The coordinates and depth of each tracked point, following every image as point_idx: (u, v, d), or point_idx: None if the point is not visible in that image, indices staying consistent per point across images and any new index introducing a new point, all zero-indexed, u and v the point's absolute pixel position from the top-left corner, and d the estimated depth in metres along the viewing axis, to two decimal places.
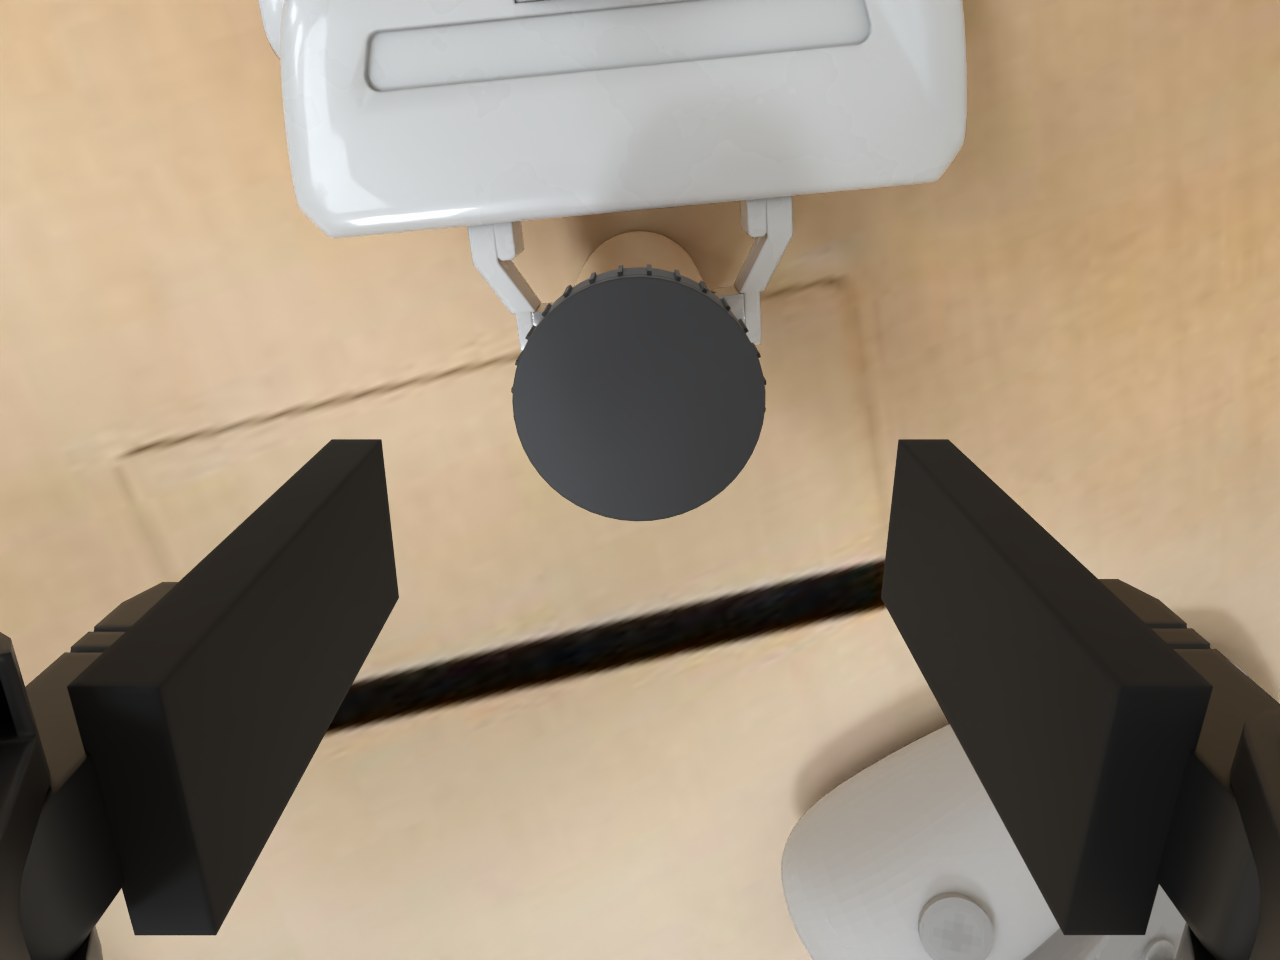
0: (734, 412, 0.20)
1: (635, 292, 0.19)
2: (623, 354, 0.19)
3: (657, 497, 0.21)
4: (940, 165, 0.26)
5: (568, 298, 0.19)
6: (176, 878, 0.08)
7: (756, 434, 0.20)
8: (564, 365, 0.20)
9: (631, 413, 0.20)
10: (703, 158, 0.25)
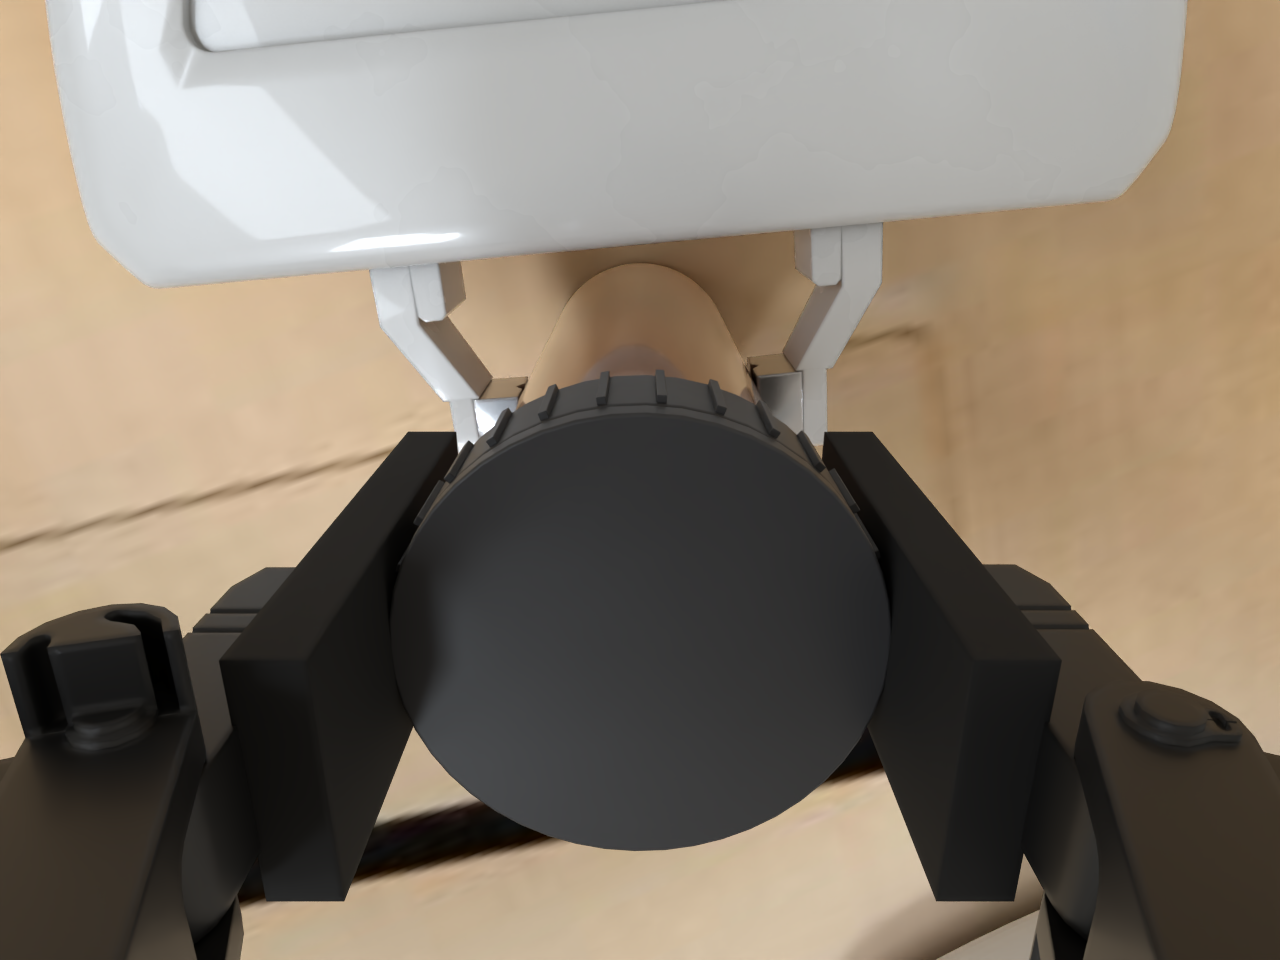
0: (830, 668, 0.10)
1: (633, 444, 0.09)
2: (608, 562, 0.10)
3: (675, 812, 0.11)
4: (1130, 173, 0.16)
5: (494, 455, 0.09)
6: (310, 846, 0.08)
7: (871, 706, 0.10)
8: (489, 583, 0.10)
9: (625, 669, 0.10)
10: (744, 163, 0.16)
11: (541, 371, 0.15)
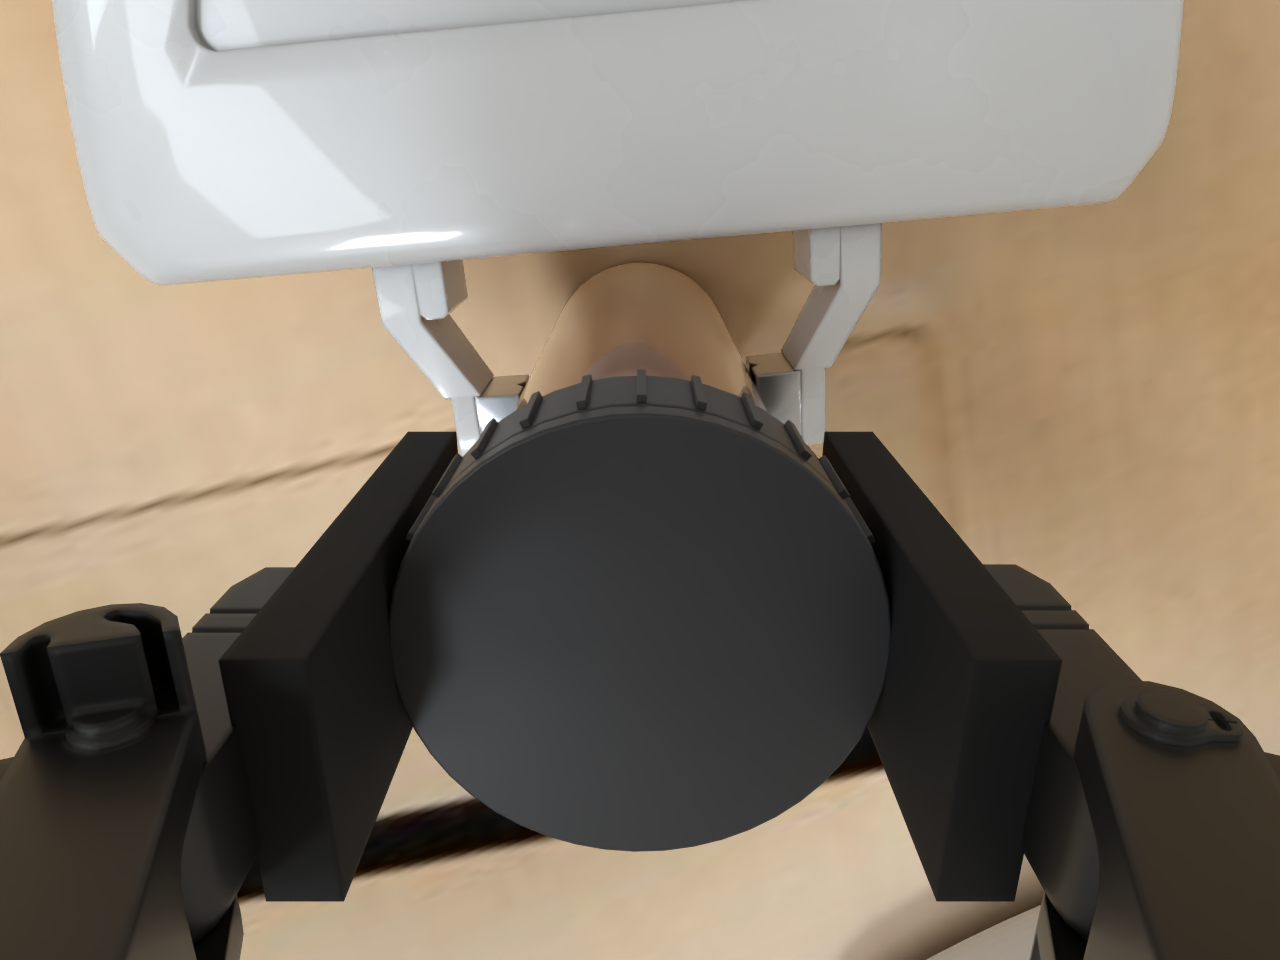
0: (551, 494, 0.09)
1: (459, 752, 0.10)
2: (567, 721, 0.10)
3: (799, 536, 0.09)
4: (1126, 176, 0.16)
5: (534, 830, 0.11)
6: (310, 846, 0.08)
7: (566, 431, 0.09)
8: (641, 791, 0.11)
9: (661, 660, 0.10)
10: (745, 163, 0.16)
11: (542, 369, 0.15)
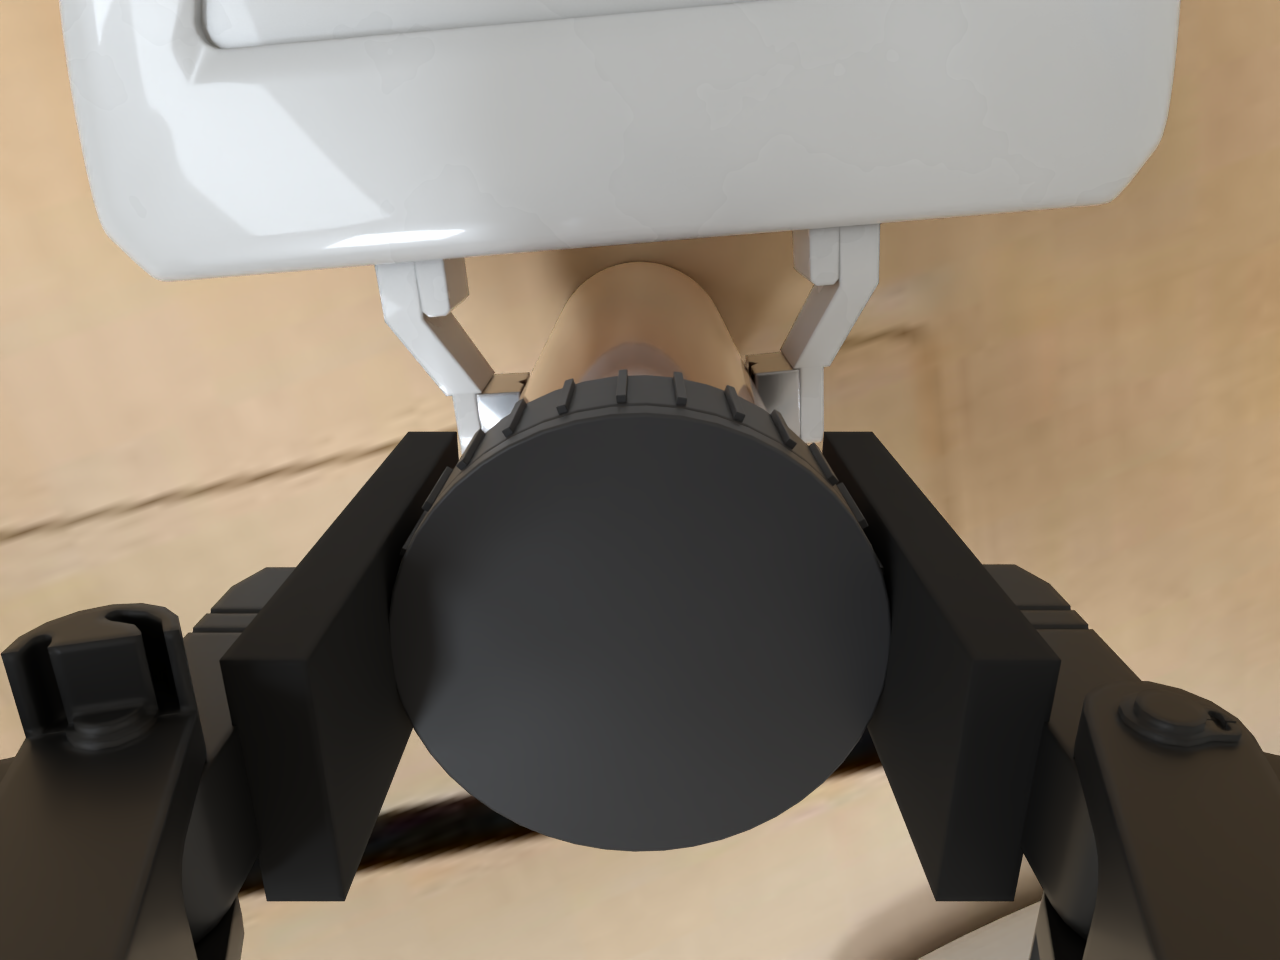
0: (537, 784, 0.11)
1: (827, 743, 0.10)
2: (743, 678, 0.10)
3: (445, 597, 0.10)
4: (1122, 178, 0.16)
5: None
6: (310, 846, 0.08)
7: (480, 796, 0.11)
8: (788, 580, 0.10)
9: (633, 638, 0.10)
10: (745, 163, 0.16)
11: (543, 366, 0.15)
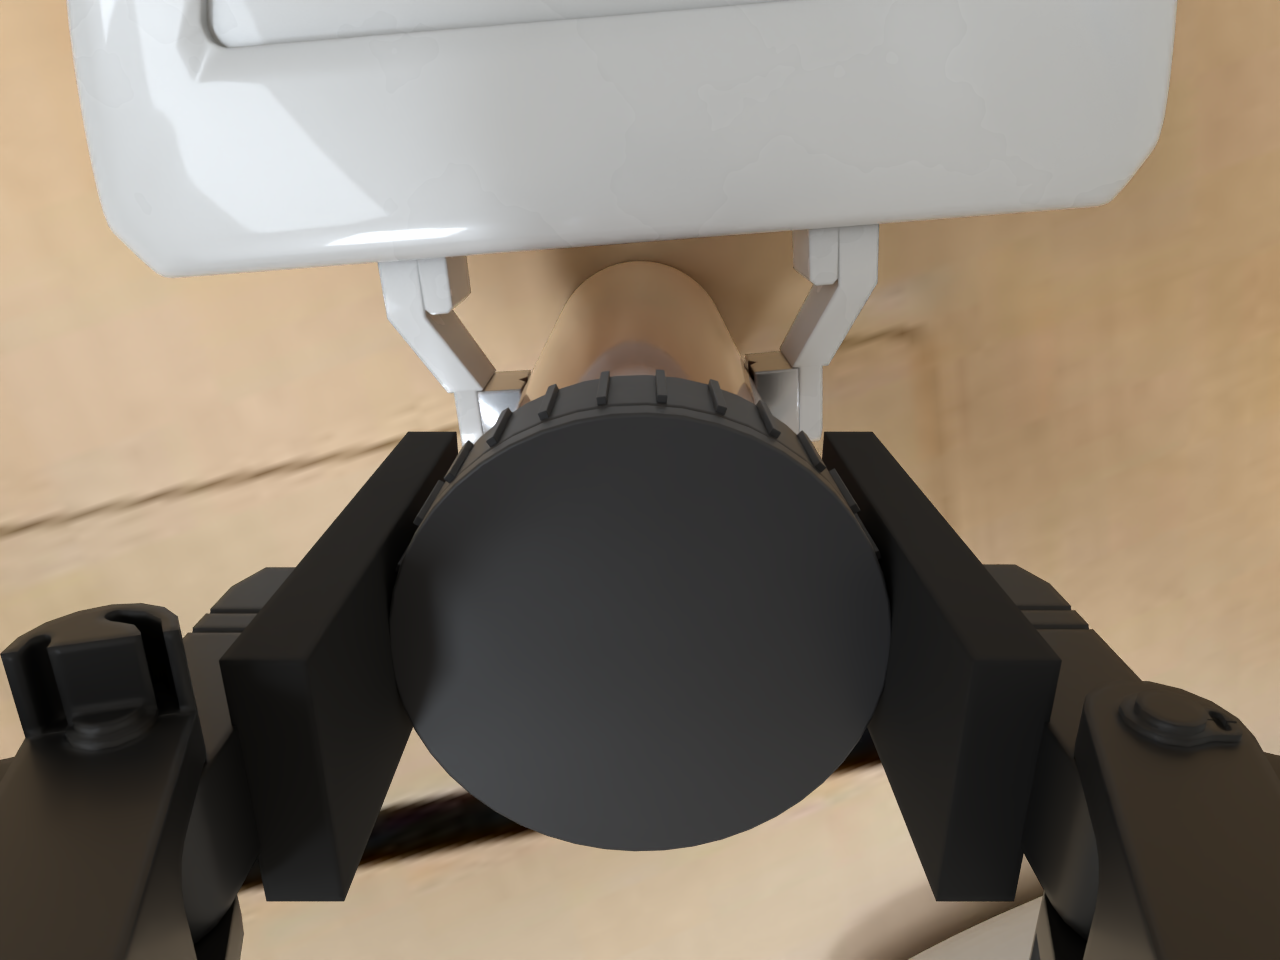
0: (830, 668, 0.10)
1: (633, 444, 0.09)
2: (609, 562, 0.10)
3: (675, 812, 0.11)
4: (1119, 180, 0.16)
5: (494, 455, 0.09)
6: (310, 846, 0.08)
7: (871, 706, 0.10)
8: (489, 583, 0.10)
9: (625, 669, 0.10)
10: (745, 163, 0.16)
11: (545, 363, 0.16)
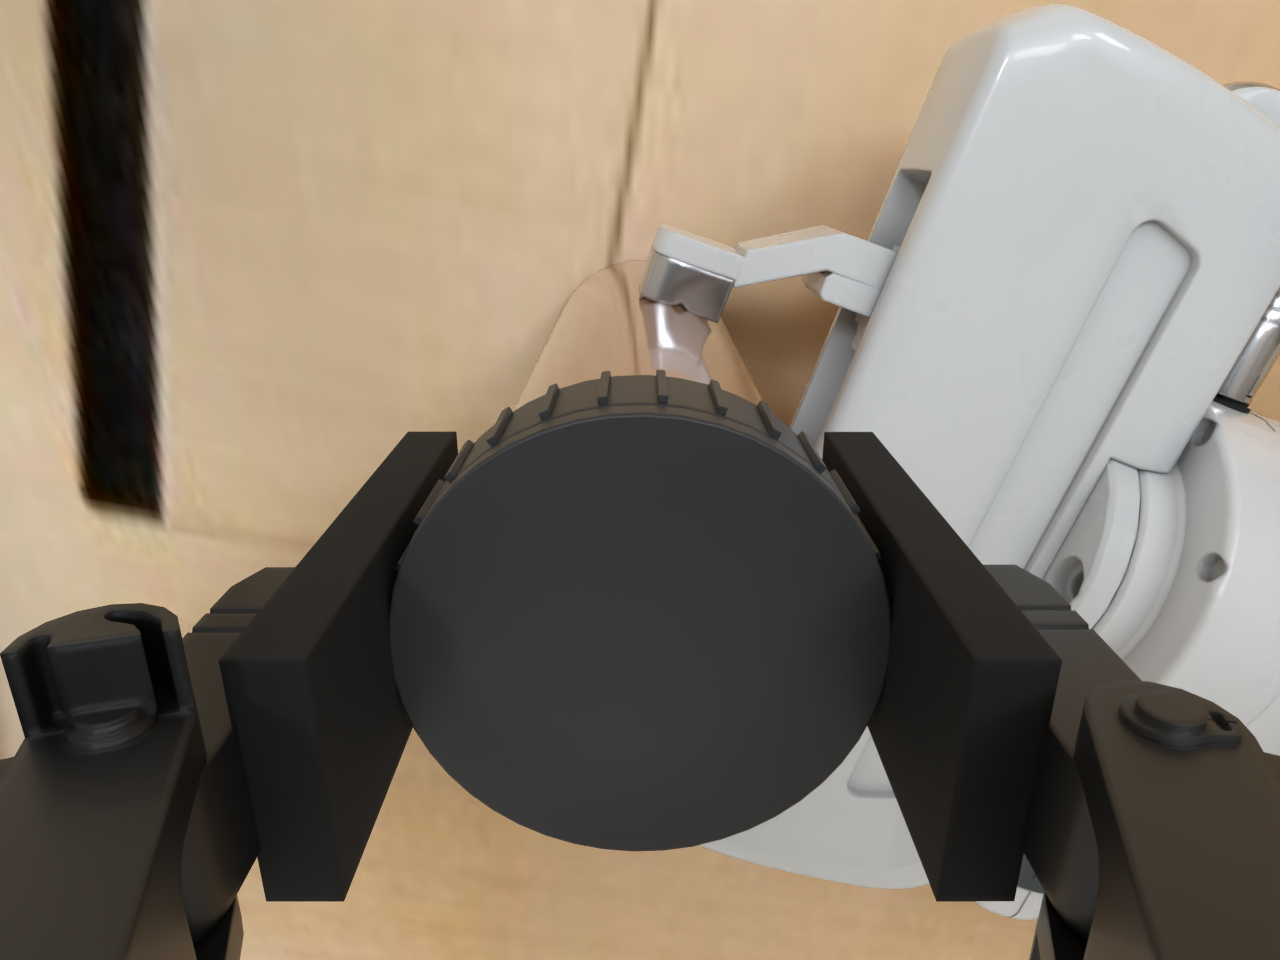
0: (830, 668, 0.10)
1: (634, 444, 0.09)
2: (609, 562, 0.10)
3: (674, 813, 0.11)
4: None
5: (494, 455, 0.09)
6: (309, 846, 0.08)
7: (870, 706, 0.10)
8: (489, 582, 0.10)
9: (625, 669, 0.10)
10: None
11: None
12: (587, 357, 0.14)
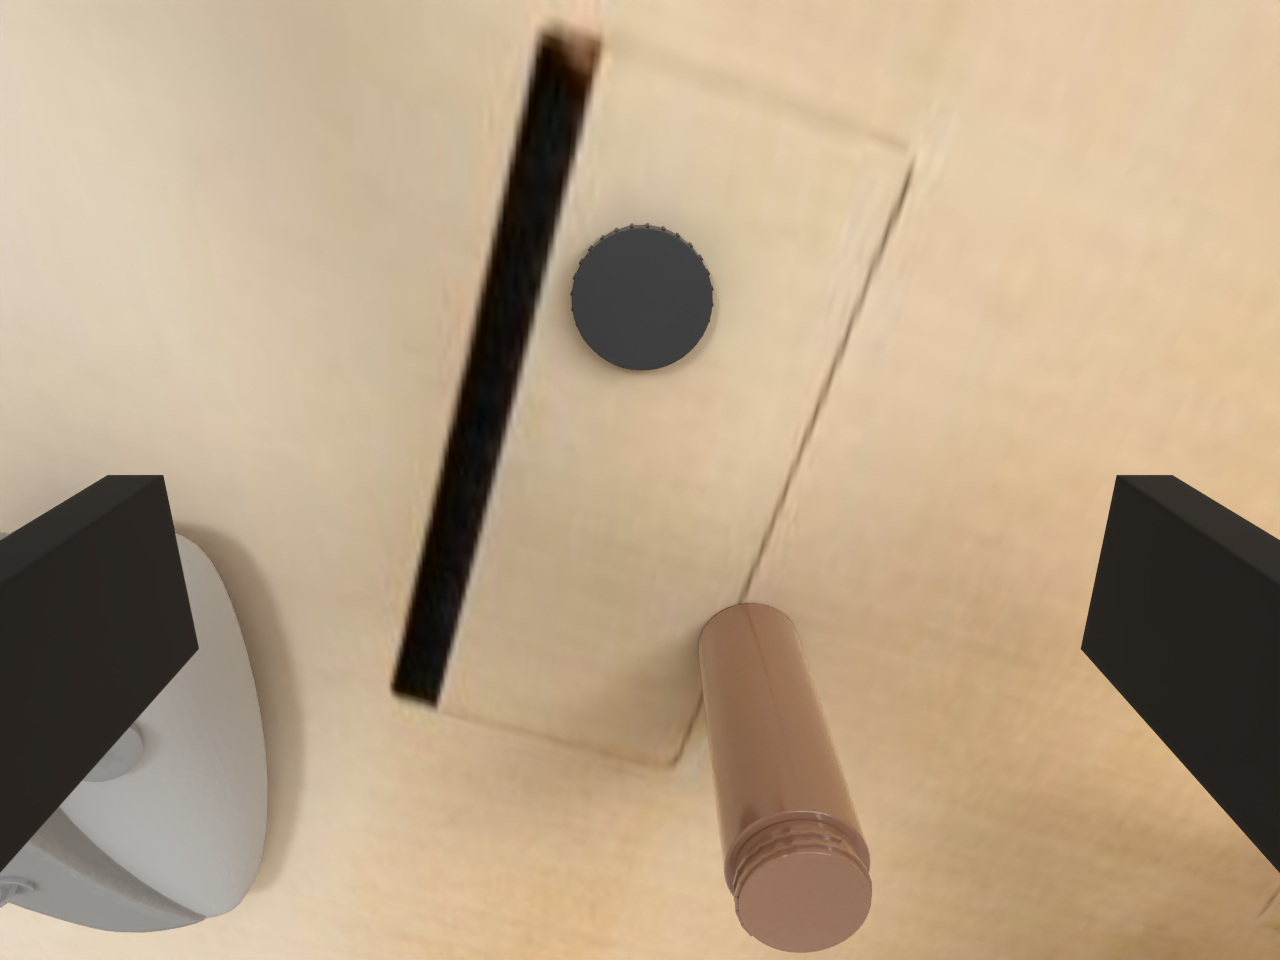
0: (695, 305, 0.36)
1: (640, 237, 0.35)
2: (633, 271, 0.35)
3: (652, 355, 0.36)
4: None
5: (603, 240, 0.35)
6: None
7: (707, 318, 0.36)
8: (601, 278, 0.35)
9: (638, 305, 0.36)
10: None
11: None
12: (776, 765, 0.31)
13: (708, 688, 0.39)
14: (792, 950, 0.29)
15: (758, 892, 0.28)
